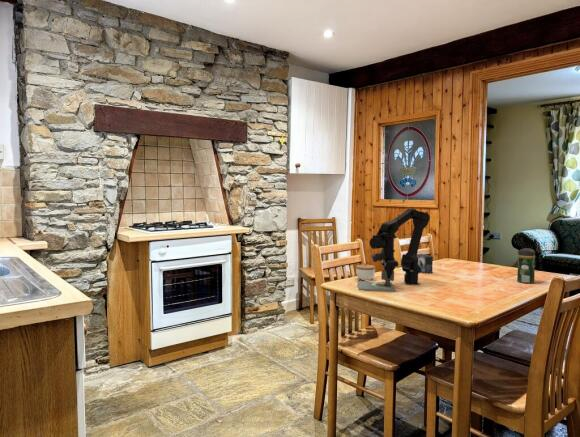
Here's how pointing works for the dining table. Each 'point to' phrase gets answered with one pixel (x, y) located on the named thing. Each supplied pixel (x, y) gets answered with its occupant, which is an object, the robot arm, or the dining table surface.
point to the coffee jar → (526, 265)
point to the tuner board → (374, 286)
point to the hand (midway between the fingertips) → (387, 277)
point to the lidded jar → (365, 271)
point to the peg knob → (385, 278)
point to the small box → (425, 263)
